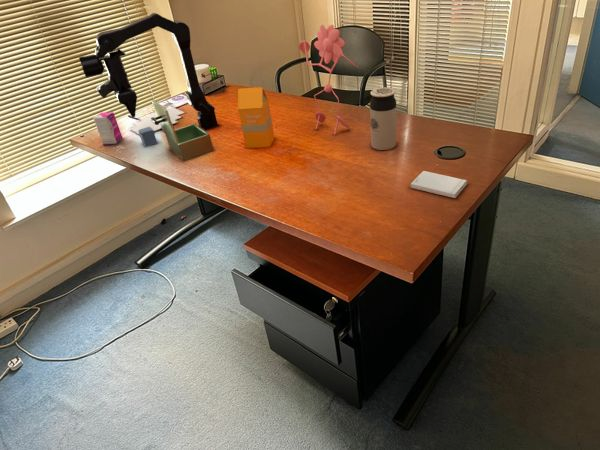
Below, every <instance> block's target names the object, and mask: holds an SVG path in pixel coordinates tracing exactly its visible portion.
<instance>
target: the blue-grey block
mask: <svg viewBox="0 0 600 450" xmlns="http://www.w3.org/2000/svg"><path fill="white" fill-rule="evenodd" d="M138 132H139V134H140V135H139V134H138V135H139V137H140V141H141V143H142V145H143V146H144V147H146V148H147V147H150V146H153V145H156V144H158V140H157V137H156V134H155V131H153V129H152V128H151V127H146V128H143V129H140V130H138Z"/></svg>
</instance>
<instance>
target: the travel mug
mask: <svg viewBox="0 0 600 450" xmlns="http://www.w3.org/2000/svg"><path fill="white" fill-rule="evenodd" d="M395 94H396V89H394V88H392V87H385V86H384V87H377V88H374V89H372V90H371V91H370V95H371V99H370V102H369V113H370V114H369V115H370V116H369V117H370V118H369V119H370V144H371V147H372V148H373V149H375V150H377V151H387V150H388V151H389V150H392V149H393V148H395V147H396V146H397V99H396V97H395Z"/></svg>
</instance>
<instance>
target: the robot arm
mask: <svg viewBox="0 0 600 450" xmlns="http://www.w3.org/2000/svg"><path fill="white" fill-rule="evenodd" d="M155 28H160V29H163V30H165V31H166V32H169V33H170V35H171V37H172V39H173V41H174V44H175V45H176V47H177V49H178V53H179V56H180V59H181V63H182V67H183V71H184V76H185V79H186V83H187V85H188V87H187V89H188V90H187V91H184V94H185V96H186V102H187V104H189V105H190V107H192V108H193V109H194V110H195V111H196V115H197V117H196V120H197V124H198V126H199V127H200V128H202V129H203V130H204V131H209V130H210V129H214V128H217V127H220V124H219V123H218V120H217V115H216V111H215V109H216V108H215V107H214V106H213V105H212V104H211V103H210V102H209V101H207V98H206V96H205V93H204V91H203V89H202V88H201V86H200V83H199V78H198V73H197V70H196V66H195V62H194V58H193V54H192V50H191V39H192V38H191V31H190V27H189V25H188V24H186V22H183V21H181V20H171V19H168V18H166V17H164V16H162V15H160V14H158V13H157V12H152V13H151V14H149V15H147V16H145V17H142V18H140V19H138V20H136V21H134V22H131V23H129V24H127V25H125V26H122V27H119V28H114V29H109V30H108V29H107V30H104V31H100V32H99V33H97V35H96V37H95V42H96V48H95V50H94V54H90V55H81V56H79V57H78V59H79V62H80V64H81V68H82V71H83V74H84V76H85V79H88V78H89V79H90V78H93V77H96V76H101V75H103V73H104V71H107V74H108V75H107V77H108V79H106V80H105V81H103V82H102V83H100V84H99V85H98V86H97V87H96V88H95V90H96V92H97V93H98V94H99V96H100V97H101V98H102V99H105V98H107V96H109V94H111V93H113V94H114V95H115V96H116V98H117V101H118V103H119V104H121V105H123V106H125V108H126V109H127V111H128V113H129V115H130V116H131V118H135V117H136V112H137V111H136V110H137V101H138V95H137V93H136V91H135V90H134V89H132V84H131V83H130V80H129V77H128V73H127V72H126V69H125V66H124V63H123V60H122V57H124V56H126V52H125V51H124V50H121V49H120V48H119V47H121V46H122V45H123V44H124V43H125V42H126V41H129V40H131V39H133V38H135V37H137V36H140V35H142V34H144V33H146V32H148V31H151V30H153V29H155ZM107 54H108V55H107ZM103 63H104V64H103ZM105 68H106V69H105Z"/></svg>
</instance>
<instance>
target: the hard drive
mask: <svg viewBox="0 0 600 450" xmlns="http://www.w3.org/2000/svg"><path fill="white" fill-rule="evenodd" d="M467 185H468V180H467V179H463V178H458V177H453V176H449V175H445V174H440V173H435V172H430V171H426V170H423V171H422V172H420V173H419V174H418V175H417V176H416V177H415V179H414V180H412V182H411V183H410V188H411V189H415V190H418V191H423V192H427V193H431V194H435V195H440V196H443V197H448V198H452V199H456V198H457V197H458V196H459V195H460V194H461V192H462V191H463V190H464V189H465V187H467Z"/></svg>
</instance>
